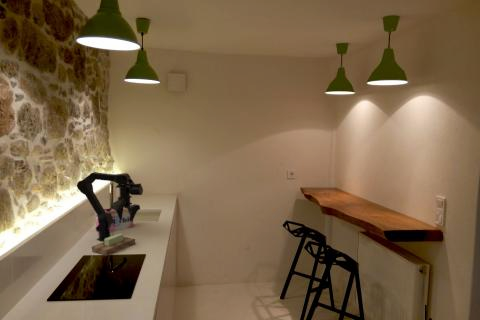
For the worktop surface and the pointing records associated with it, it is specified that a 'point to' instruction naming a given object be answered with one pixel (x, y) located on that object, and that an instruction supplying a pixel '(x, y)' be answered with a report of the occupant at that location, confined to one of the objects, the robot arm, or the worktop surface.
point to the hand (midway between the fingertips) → (126, 220)
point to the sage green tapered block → (113, 239)
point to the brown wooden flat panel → (116, 247)
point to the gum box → (118, 219)
